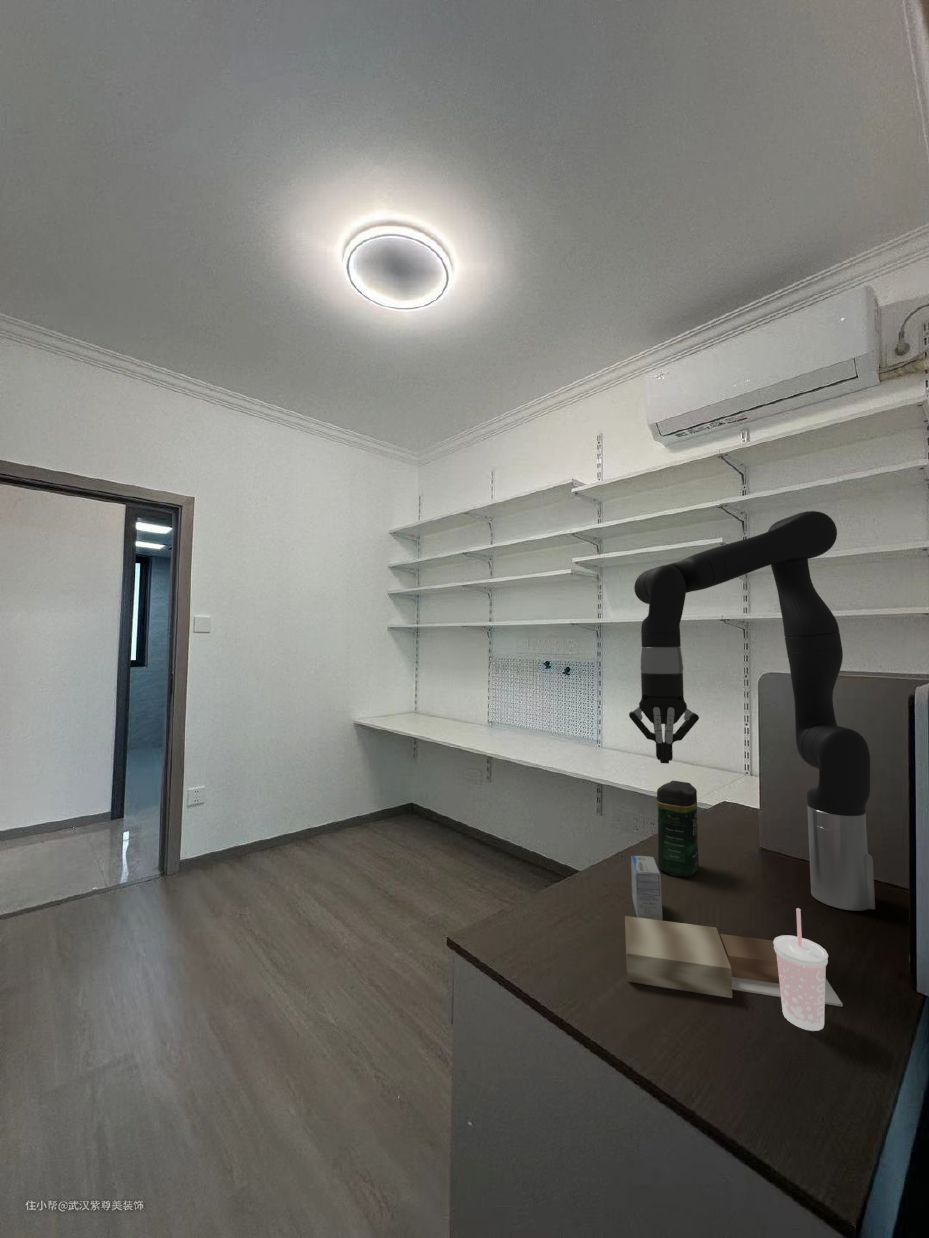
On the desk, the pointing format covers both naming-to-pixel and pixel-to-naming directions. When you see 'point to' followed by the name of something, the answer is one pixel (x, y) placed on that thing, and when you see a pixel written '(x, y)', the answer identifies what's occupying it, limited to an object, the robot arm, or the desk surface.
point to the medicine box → (646, 888)
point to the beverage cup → (801, 979)
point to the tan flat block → (677, 956)
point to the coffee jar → (677, 828)
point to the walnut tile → (751, 958)
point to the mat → (778, 989)
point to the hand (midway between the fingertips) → (664, 762)
